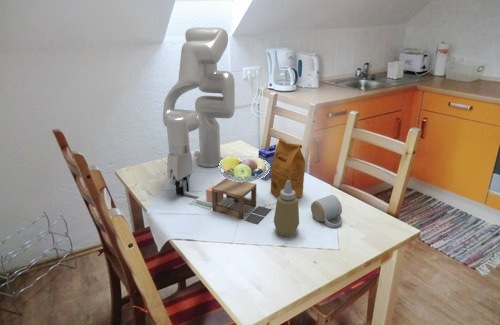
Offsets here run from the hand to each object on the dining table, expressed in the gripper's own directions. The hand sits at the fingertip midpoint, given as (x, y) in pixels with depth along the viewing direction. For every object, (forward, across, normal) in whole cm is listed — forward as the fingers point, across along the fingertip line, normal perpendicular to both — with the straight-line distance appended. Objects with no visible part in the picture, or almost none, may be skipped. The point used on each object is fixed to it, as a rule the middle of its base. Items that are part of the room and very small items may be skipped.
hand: (182, 192), depth 137 cm
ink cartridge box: (+1, -32, +22) cm, 39 cm away
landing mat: (+1, 0, +11) cm, 11 cm away
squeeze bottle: (+1, +5, +45) cm, 46 cm away
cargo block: (-1, 0, +15) cm, 15 cm away
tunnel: (+1, 0, +23) cm, 23 cm away
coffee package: (+1, -19, +36) cm, 40 cm away
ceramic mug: (+1, -8, +55) cm, 56 cm away
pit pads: (+1, 0, +33) cm, 33 cm away
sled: (0, 0, +10) cm, 10 cm away
